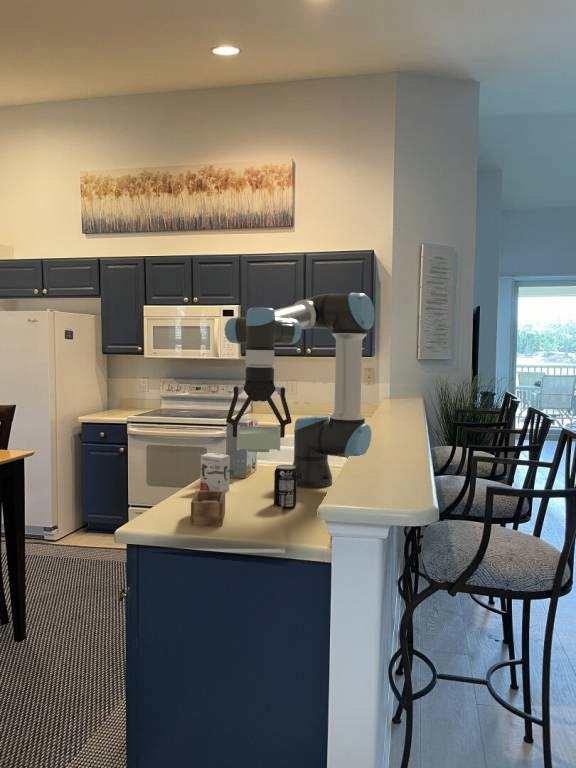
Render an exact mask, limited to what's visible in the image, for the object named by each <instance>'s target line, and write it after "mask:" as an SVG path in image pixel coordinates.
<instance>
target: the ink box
mask: <svg viewBox="0 0 576 768" xmlns="http://www.w3.org/2000/svg"><path fill="white" fill-rule="evenodd" d="M229 473H230V456H229V455H227V454H222V453H214V452H207V453H205V454H200V473H199V475H200V476H199V477H200V480H199V481H200V483H199V491H225V493H229V492H230V477H229Z"/></svg>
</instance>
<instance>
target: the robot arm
mask: <svg viewBox="0 0 576 768" xmlns="http://www.w3.org/2000/svg"><path fill="white" fill-rule="evenodd" d="M374 323H375V307H374V304H373V302H372V300H371V298H370V297H369V296H368V295H367V294H365V293H363V292H361V293H360V292H346V293H345V292H344V293H342V292H341V293H324V294H318V295H315V296H312V297H308V298H305V299H301V300H297V301H296V302H295V303H294V304H293V305H290V306H286V307H281V308H277V309H274V308H272V307H250V308H248V310H247V311H246V316H245V317H244V316H243V317H239V316H238V317H230V318H229V319H227V321H226V323H225V325H224V333H225V338H226V340H227V341H228V342H229V343H231V344H238V345H241V344H245V345H246V346H245V365H247V366H246V368H245V384H244V385H242V386H241V385H240V386H237V385H235V386H234V387H233V397H232V401H231V404H230V406H229V410H228V413H227V416H226V420H225V422H226V423H227V424H228V423H230V424H232V425H233V437H237V450H240V449H239V432H240V424H238V422H239V420H240V419H241V418H243V416H244V413H245V412H246V410H247V409H248V407H249V406H250V404H251V402H254V403H255V402H263V403H265V402H267V403H268V405H269V406H270V409H271V410H272V412H273V415H274V416H275V417H276V419H277V421H278V422H279V424H277V426H276V427H277V430H278V450H276V451H277V452H280V451H281V439H283V438H285V437H286V436H285V434H286V429H285V428H286V425H290V424H292V422H293V421H292V417H291V414H290V410H289V407H288V402H287V399H286V387H285V386H276V385H275V382H274V381H275V380H274V379H275V377H274V376H275V368H274V367H273V366H274V365H275V345H284V346H285V345H287V346H289V345H293V344H296V343H297V342H298V341H299V340H300V338H301V337H302V331H303V330H308V329H325V330H331V335H332V336H333V337H334V339H335V366H334V367H335V368H334V369H335V371H334V372H335V374H334V375H335V377H334V408H333V410H334V411H333V413H332V414H331V415H329V416H328V415H314V416H305V417H299V418H297V419H296V420H295V422H294V430H293V432H294V434H293V435H294V437H293V438H294V439H293V443H294V444H293V451H294V452H293V462H292V465H293V466H295V467H296V468H295V469H296V471H297V487H299V488H323V487H329V486H331V485H332V484H333V476H332V472H331V468H330V465H329V462H328V461H329V459H328V457H329V456H330V457H331V456H332V457H339V458H345V459H348V457H349V456H360V455H363V454H364V455H365V454H366V453H367V452H368V449H369V447H370V446H371V441H372V430H371V426H370V425H369V424H367V423H366V422H365V421H366V420H365V419H366V417H365V415H363V414H362V413H361V412H362V411H361V402H362V401H361V400H362V369H363V368H362V363H363V362H362V361H363V340H364V338H366V337H367V335H368V330H370V329H371V328H372V327H373V326H374ZM243 391H244V392H245V394H246V395H247V398H246V399H245V401H244V403H243V405H242V407H240V409H239V411H238V413H237V415H236V416H235V417H234V418H232V417H233V414H234V411H235V408H236V405H237V403H238V399H239V395H242V392H243ZM275 392H277V395H278V396H280V400H281V405H282V408H283V411H284V414H285V419H284V418H283V416H282V415H281V413H280V411H279V409H278V407H277V406H276V404H275V401H274V400H273V398H272V395H274V393H275ZM364 455H363V456H364Z"/></svg>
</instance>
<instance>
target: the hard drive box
mask: <svg viewBox="0 0 576 768" xmlns="http://www.w3.org/2000/svg"><path fill="white" fill-rule="evenodd" d="M258 421H259V418H254V417H253V418H251V417H241V419H240V420H239V422H238V424H240V428H241V426H253V427H259V425H258V424H259V423H258ZM226 433H227V434H226V435H227V436H226V455H229V456H230V473H229V478H237V479H238V478H239V479H246V478H248V477H250V476H251V475H252V474H254V473H255V472H257V470H258V469H257V468H258V467H257V465H258V463H257V462H258V452H248V449H240V450H237V437H233V425H232V424H230V423H227V428H226Z"/></svg>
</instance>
